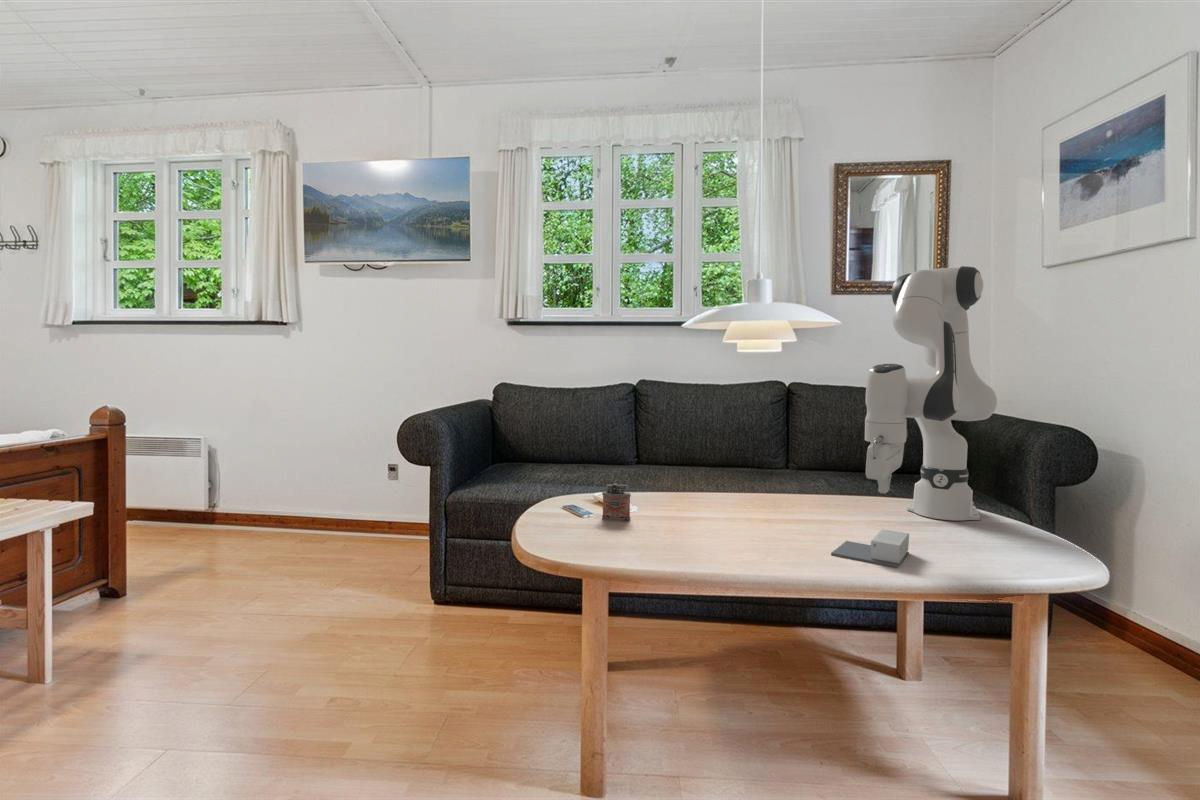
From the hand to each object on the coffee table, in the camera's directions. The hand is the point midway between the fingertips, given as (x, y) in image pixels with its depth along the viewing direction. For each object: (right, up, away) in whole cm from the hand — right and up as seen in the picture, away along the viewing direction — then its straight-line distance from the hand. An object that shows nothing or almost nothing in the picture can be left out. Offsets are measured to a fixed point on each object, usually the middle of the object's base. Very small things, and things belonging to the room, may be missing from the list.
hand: (883, 492), depth 144 cm
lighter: (-62, -12, +27) cm, 69 cm away
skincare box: (+3, -11, +1) cm, 12 cm away
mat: (-4, -14, -3) cm, 15 cm away
